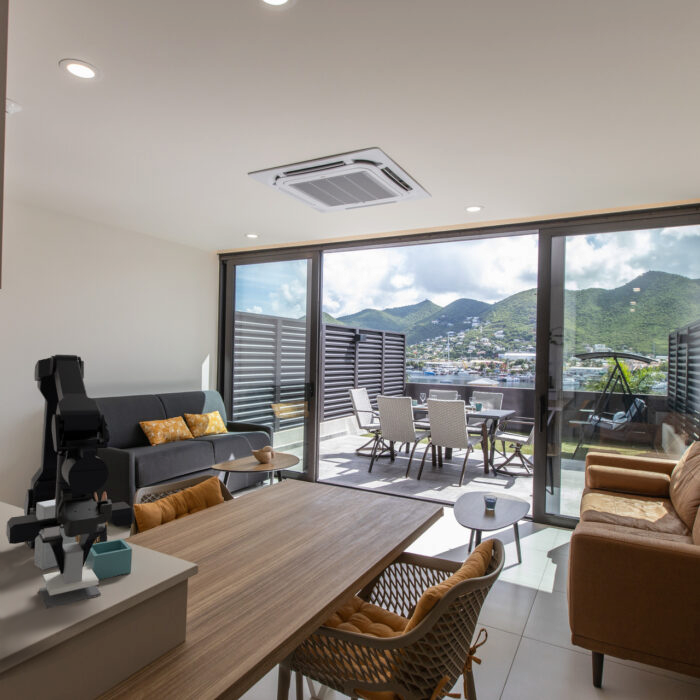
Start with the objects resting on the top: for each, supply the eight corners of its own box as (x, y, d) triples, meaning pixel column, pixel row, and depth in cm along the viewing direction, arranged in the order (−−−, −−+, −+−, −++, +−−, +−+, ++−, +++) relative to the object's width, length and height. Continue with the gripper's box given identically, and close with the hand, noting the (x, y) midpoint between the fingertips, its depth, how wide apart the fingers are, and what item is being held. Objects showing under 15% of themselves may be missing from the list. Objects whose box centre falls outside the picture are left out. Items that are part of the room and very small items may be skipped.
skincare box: (66, 555, 102) (69, 496, 102) (75, 561, 99) (78, 500, 99) (32, 564, 97) (35, 502, 97) (41, 570, 94) (44, 506, 95)
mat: (39, 590, 86) (39, 588, 86) (90, 579, 91) (90, 577, 91) (46, 608, 81) (46, 606, 81) (100, 595, 86) (100, 593, 86)
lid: (42, 579, 87) (44, 545, 87) (88, 569, 91) (90, 537, 91) (49, 595, 81) (51, 559, 81) (98, 584, 85) (100, 550, 86)
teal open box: (85, 568, 96) (86, 545, 96) (121, 561, 100) (122, 538, 100) (93, 581, 91) (94, 556, 91) (130, 572, 95) (132, 548, 95)
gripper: (16, 498, 74) (10, 605, 74) (146, 483, 86) (141, 575, 86) (8, 482, 83) (3, 578, 83) (127, 470, 95) (123, 553, 94)
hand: (70, 571), depth 86 cm, fingers closed on lid, 2 cm apart
